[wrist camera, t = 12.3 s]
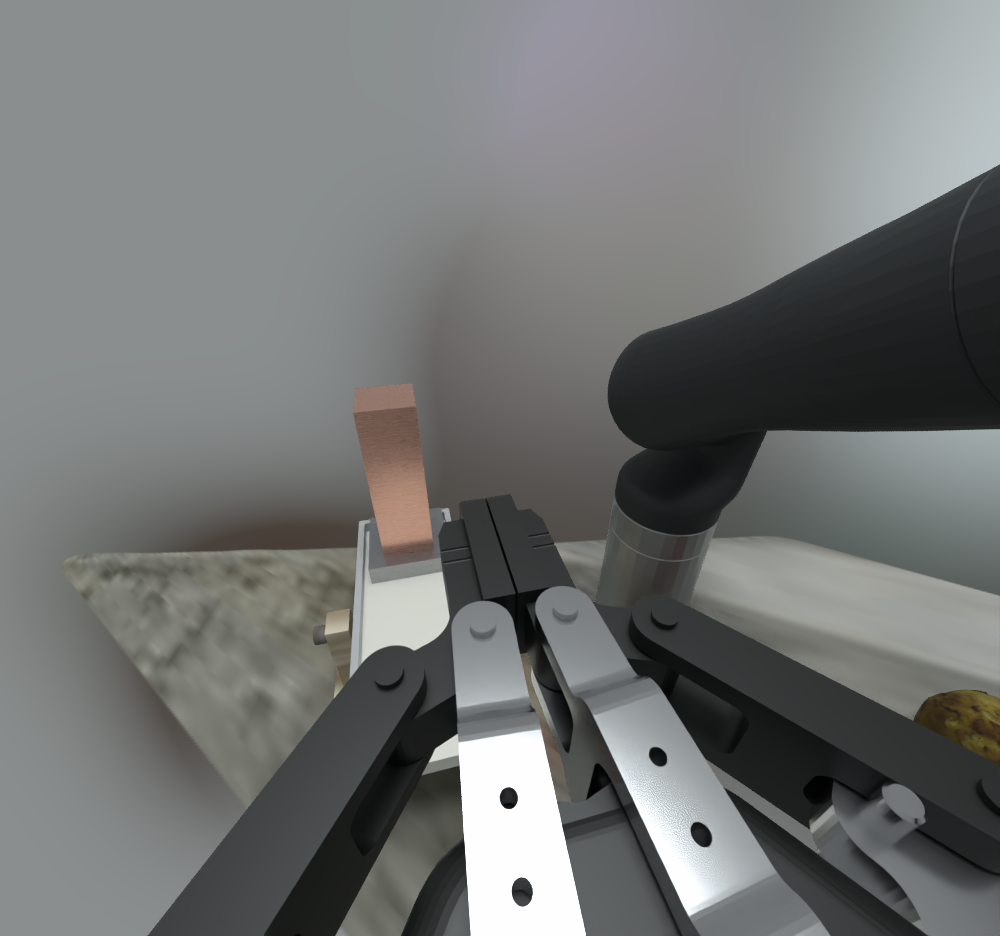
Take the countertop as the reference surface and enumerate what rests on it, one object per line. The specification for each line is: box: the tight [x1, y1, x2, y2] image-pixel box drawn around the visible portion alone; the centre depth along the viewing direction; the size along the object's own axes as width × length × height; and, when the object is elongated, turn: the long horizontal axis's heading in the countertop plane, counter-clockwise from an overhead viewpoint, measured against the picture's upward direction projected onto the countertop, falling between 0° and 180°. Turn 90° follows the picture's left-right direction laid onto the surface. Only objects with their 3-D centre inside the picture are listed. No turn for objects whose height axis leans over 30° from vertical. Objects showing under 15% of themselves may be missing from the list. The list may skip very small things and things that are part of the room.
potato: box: [914, 690, 1000, 765], centre depth 35 cm, size 8×13×8 cm, turn 80°
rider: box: [353, 383, 444, 584], centre depth 42 cm, size 8×8×18 cm
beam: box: [350, 508, 460, 775], centre depth 41 cm, size 26×10×3 cm, turn 13°
